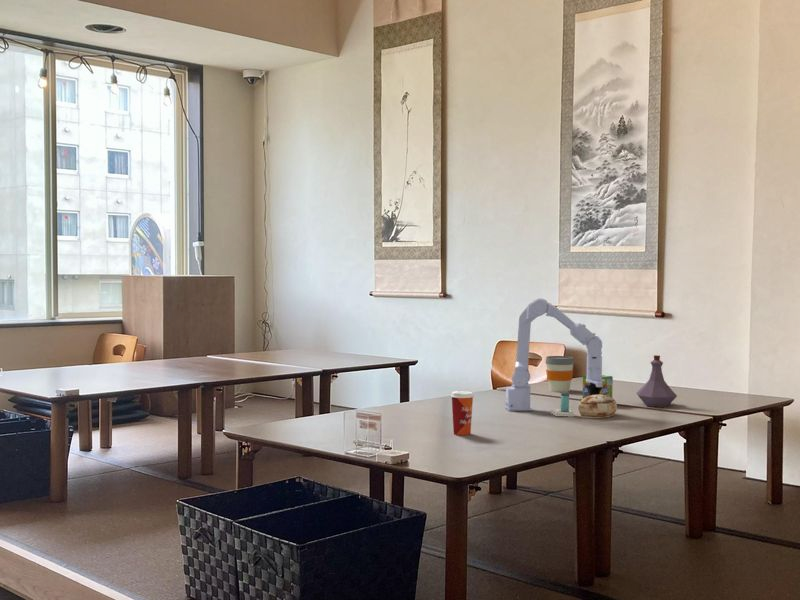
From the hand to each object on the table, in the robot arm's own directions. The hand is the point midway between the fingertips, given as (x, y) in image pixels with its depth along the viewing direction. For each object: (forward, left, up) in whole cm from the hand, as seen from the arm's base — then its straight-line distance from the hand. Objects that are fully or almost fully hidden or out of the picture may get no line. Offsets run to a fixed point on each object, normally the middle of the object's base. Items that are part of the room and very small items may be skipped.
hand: (593, 403), depth 351 cm
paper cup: (-57, -41, -4) cm, 70 cm away
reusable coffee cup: (+1, +59, -4) cm, 60 cm away
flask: (+30, +16, -4) cm, 35 cm away
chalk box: (+7, +20, -4) cm, 22 cm away
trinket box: (-1, -8, -4) cm, 8 cm away
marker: (-12, -5, -2) cm, 13 cm away
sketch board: (-14, -5, -3) cm, 15 cm away
